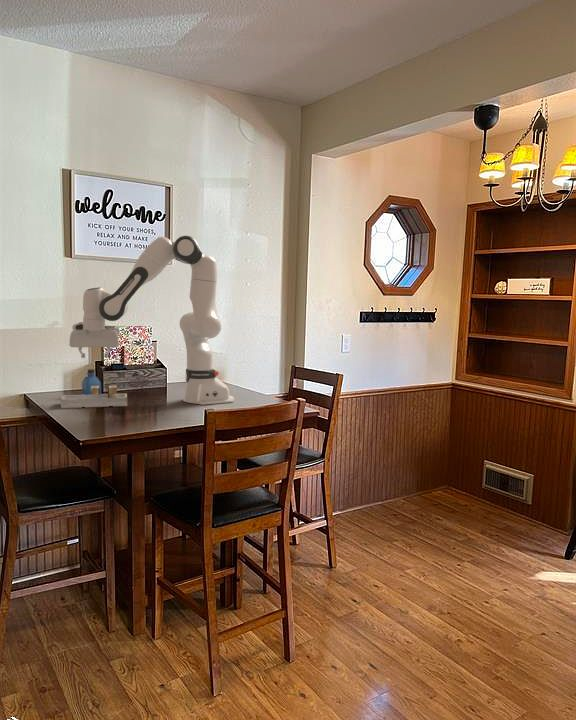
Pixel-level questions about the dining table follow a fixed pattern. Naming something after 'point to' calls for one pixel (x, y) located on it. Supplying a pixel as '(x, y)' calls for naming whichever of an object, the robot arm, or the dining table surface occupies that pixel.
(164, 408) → the dining table surface
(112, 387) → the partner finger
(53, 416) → the dining table surface
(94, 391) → the finger block
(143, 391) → the dining table surface
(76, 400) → the rail
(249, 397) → the dining table surface
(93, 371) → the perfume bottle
